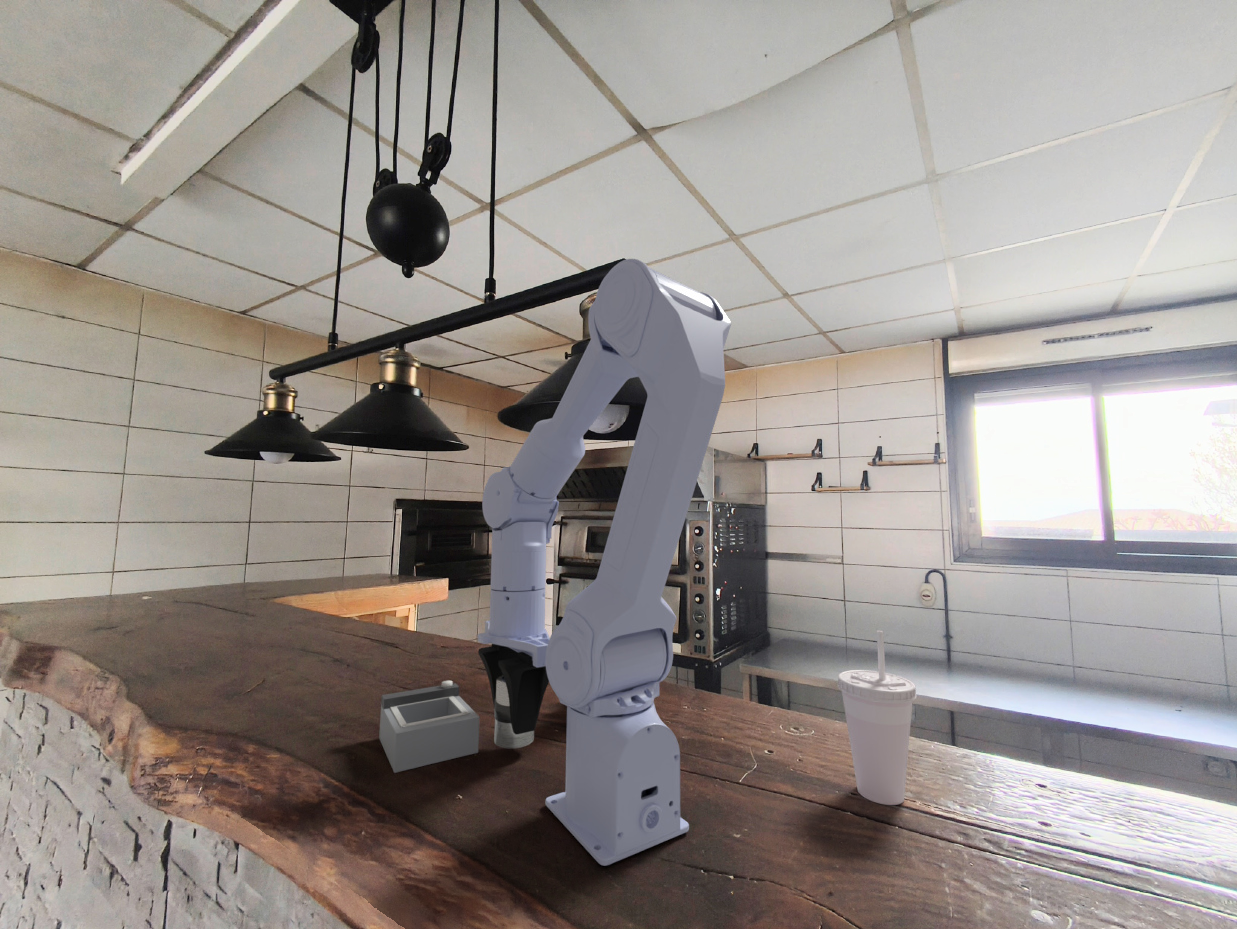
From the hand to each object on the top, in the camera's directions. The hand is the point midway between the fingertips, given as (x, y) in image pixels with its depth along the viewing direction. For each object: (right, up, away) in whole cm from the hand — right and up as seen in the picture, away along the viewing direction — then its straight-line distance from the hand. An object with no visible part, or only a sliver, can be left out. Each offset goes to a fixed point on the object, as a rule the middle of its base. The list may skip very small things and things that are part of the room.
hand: (514, 723), depth 53 cm
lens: (0, -2, 0) cm, 2 cm away
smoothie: (+34, -3, -7) cm, 35 cm away
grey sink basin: (-9, -3, +1) cm, 10 cm away
